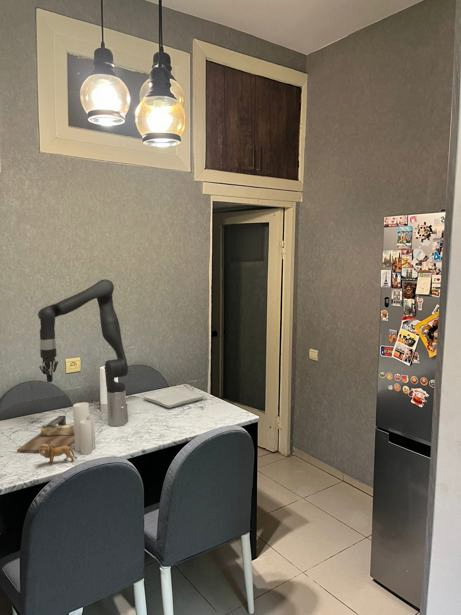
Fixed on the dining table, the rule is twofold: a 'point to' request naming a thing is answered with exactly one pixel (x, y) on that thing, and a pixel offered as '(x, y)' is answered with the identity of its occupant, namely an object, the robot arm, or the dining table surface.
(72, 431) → the maple link
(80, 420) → the white pillar candles
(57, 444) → the walnut board
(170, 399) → the square plate
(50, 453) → the lion figurine
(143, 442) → the dining table surface
